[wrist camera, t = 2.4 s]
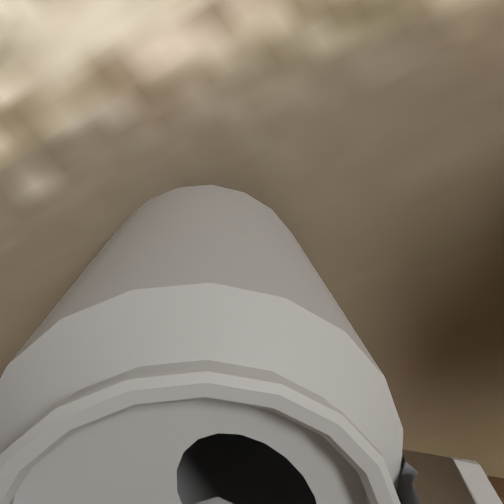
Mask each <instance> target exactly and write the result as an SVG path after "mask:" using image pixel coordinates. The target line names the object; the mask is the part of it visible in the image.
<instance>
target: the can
mask: <svg viewBox="0 0 504 504" xmlns="http://www.w3.org/2000/svg"><path fill="white" fill-rule="evenodd" d="M402 447H403V428H402V425H401V422H400V419H399V416H398V413H397V410H396V408H395V405H394V402H393V399H392V396H391V393H390V390H389V388H388V385H387V382H386V379H385V377H384V375H383V374H382V372H381V371H380V369H379V368H378V366H377V364H376V363H375V361H374V360H373V358H372V357H371V355H370V354H369V352H368V351H367V349H366V347H365V346H364V344H363V343H362V341H361V340H360V338H359V337H358V335H357V334H356V332H355V330H354V329H353V327H352V326H351V324H350V323H349V321H348V320H347V318H346V316H345V315H344V313H343V312H342V310H341V309H340V307H339V306H338V304H337V303H336V301H335V299H334V298H333V296H332V295H331V293H330V292H329V290H328V289H327V287H326V286H325V284H324V282H323V281H322V279H321V278H320V276H319V275H318V273H317V272H316V270H315V268H314V267H313V265H312V264H311V262H310V261H309V259H308V258H307V256H306V255H305V253H304V251H303V250H302V248H301V247H300V245H299V244H298V242H297V241H296V239H295V238H294V236H293V234H292V233H291V232H290V230H289V229H288V228H287V227H286V226H285V225H284V223H283V222H282V221H281V220H280V219H279V217H278V216H277V215H276V214H275V213H274V211H273V210H272V209H270V208H269V207H267V206H266V205H264V204H262V203H261V202H259V201H257V200H256V199H254V198H253V197H251V196H249V195H248V194H246V193H244V192H240V191H236V190H232V189H228V188H223V187H219V186H215V185H203V186H191V187H179V188H176V189H174V190H171V191H169V192H166V193H164V194H162V195H159V196H157V197H154V198H152V199H150V200H148V201H147V202H145V203H144V204H143V205H142V206H141V207H140V208H139V209H137V210H136V211H135V212H134V213H133V214H132V215H131V216H129V217H128V218H127V219H126V220H125V221H124V222H123V223H122V224H121V225H120V227H119V228H118V229H117V230H116V232H115V233H114V234H113V235H112V237H111V238H110V239H109V240H108V242H107V243H106V244H105V245H104V246H103V248H102V249H101V250H100V251H99V253H98V254H97V255H96V256H95V258H94V259H93V260H92V261H91V263H90V264H89V265H88V266H87V267H86V269H85V270H84V271H83V272H82V274H81V275H80V276H79V277H78V279H77V280H76V281H75V282H74V284H73V285H72V286H71V287H70V288H69V290H68V291H67V292H66V293H65V295H64V296H63V297H62V298H61V300H60V301H59V302H58V303H57V304H56V306H55V307H54V308H53V309H52V311H51V312H50V313H49V314H48V316H47V317H46V318H45V319H44V321H43V322H42V323H41V324H40V325H39V327H38V328H37V329H36V330H35V332H34V333H33V334H32V335H31V337H30V338H29V339H28V340H27V342H26V343H25V344H24V345H23V346H22V348H21V349H20V350H19V351H18V353H17V354H16V355H15V356H14V358H13V359H12V360H11V361H10V363H9V364H8V365H7V367H6V369H5V371H4V372H3V374H2V376H1V378H0V504H401V503H400V501H399V498H398V495H397V493H396V492H397V488H398V483H399V477H400V471H401V465H402Z"/></svg>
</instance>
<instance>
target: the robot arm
mask: <svg viewBox="0 0 504 504" xmlns="http://www.w3.org/2000/svg"><path fill="white" fill-rule="evenodd" d="M396 493H397V495H398V498H399V501H400V503H401V504H503V503H502V501H501V500H500V498H499V496H498V495H497V493H496V491H495V490H494V488H493V486H492V485H491V483H490V481H489V480H488V478H487V476H486V475H485V473H484V471H483V469H482V468H481V466H480V465H479V464H478V463H477V462H475V461H474V460H468V459H462V458H455V457H444V456H438V455H432V454H426V453H420V452H414V451H409V450H403V449H402V465H401V471H400V477H399V483H398V488H397V492H396Z"/></svg>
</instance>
